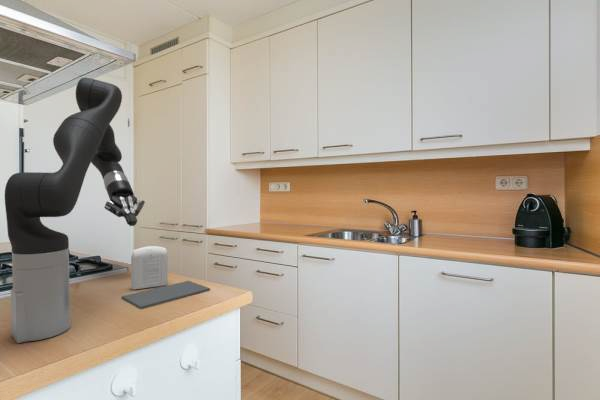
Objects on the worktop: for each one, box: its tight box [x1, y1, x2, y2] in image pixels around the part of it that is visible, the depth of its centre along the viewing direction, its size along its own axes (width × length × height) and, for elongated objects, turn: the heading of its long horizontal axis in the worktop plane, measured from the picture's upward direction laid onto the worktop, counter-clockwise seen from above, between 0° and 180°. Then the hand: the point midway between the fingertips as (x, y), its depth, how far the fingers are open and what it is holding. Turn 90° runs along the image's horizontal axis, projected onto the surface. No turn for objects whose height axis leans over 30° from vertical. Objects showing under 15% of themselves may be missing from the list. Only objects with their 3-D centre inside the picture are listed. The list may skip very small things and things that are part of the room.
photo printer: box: [130, 245, 169, 291], centre depth 100 cm, size 10×4×12 cm, turn 123°
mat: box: [121, 280, 211, 310], centre depth 93 cm, size 20×12×1 cm, turn 139°
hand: (133, 224), depth 107 cm, fingers closed
